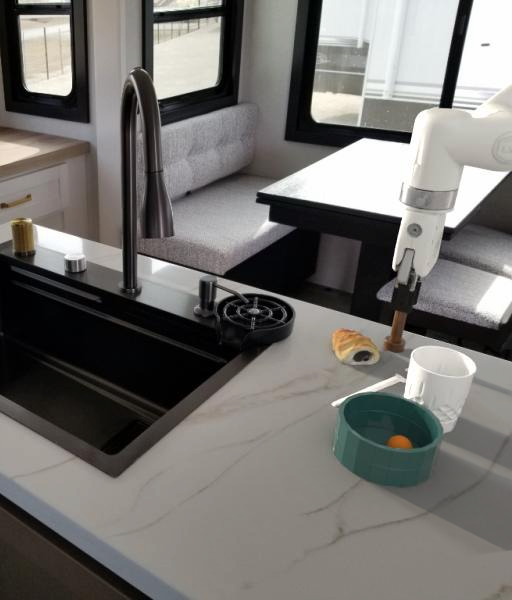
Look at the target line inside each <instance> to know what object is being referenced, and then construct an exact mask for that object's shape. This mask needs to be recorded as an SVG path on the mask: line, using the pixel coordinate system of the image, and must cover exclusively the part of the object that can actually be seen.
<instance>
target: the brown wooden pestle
mask: <svg viewBox="0 0 512 600" xmlns="http://www.w3.org/2000/svg"><path fill="white" fill-rule="evenodd" d="M409 278H411V281H412V278H413V276H409ZM407 317H408V314H407V313H403V312H400V311H396V310H394V316H393V321H392V325H391V329H390V334H389V335H386V336H385V337H384V340H383V345H382V351H383V352H390V353H395V354H396V353H397V354H398V353H399V354H400V353H403V352H405V348H406V343H407V342H406V339H404V338H403V335H404V330H405V326H406V321H407Z"/></svg>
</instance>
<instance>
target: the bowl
mask: <svg viewBox="0 0 512 600" xmlns="http://www.w3.org/2000/svg"><path fill="white" fill-rule="evenodd" d="M353 394H354V393H353ZM351 395H352V394H351ZM348 396H349V395H348ZM346 397H347V396H346ZM338 407H339V408H338V410H337V415H336V420H335V428H334V432H333V438H332V444H331V445H332V449H333V453H334V456H335V457H336V458H337V460H338V461H339V462H340V464H342V466H343V467H344V468H346V470H348V471H349V472H350V473H352V474H354V475H356V476H357V477H359V478H361V479H363V480H365V481H368V482H370V483H373V484H377V485H380V486H384V487H390V488H391V487H392V488H409V487H415V486H418V485H421V484H423V483H425V482H427V481H428V480H429V479H430V478H431V477H432V475H433V474H434V472H435V468H436V464H437V461H438V457H439V454H440V451H441V447H442V444H443V440H444V433H443V432H444V429H443V427H442V425H441V423H440V420H439V419H438V418H437V417H436V416H435V415H434V414H433V413H432V412H431V411H430V410H429V409H427V408H425V407H424V406H422V405H421V404H419V403H417V402H415V401H413V400H410V399H408V398H405V397H404V396H402V395H398V394H395V393H390V392H384V391H383V392H382V391H376V392H362V393H357V394H354V395H352V396H349V397H347V398H346V399H345V400H344V401H343V402H342V403H341V404H340V405H339V406H338ZM397 435H400V436H404V437H406V438H407V439H408V440H409V441H410V442H411V444H412V449H400V448H391V447H388V446H387V442H388V440H389V439H390V438H391V437H393V436H397Z"/></svg>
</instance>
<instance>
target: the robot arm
mask: <svg viewBox="0 0 512 600" xmlns="http://www.w3.org/2000/svg"><path fill="white" fill-rule="evenodd" d="M465 166H466V167H472V168H477V169H481V170H486V171H491V172H499V173H505V172H512V81H511V82H510V83H508V84H507V85H505V86H504V87H503V88H502V89H501V90H499V91H497V92H496V93H495V94H494V95H493V96H491V97H490V98H488V99H486V101H484V102H483V103H482V104H481V105H479V106H478V107H477V108H476V109H474V111H473V112H472V113H470V112H468V111H465V110H461V109H456V108H446V107H445V108H444V107H443V108H442V107H434V108H433V107H432V108H428V109H424V110H422V111H420V112H419V113H418V114H417V116H416V117H415V120H414V125H413V129H412V134H411V139H410V143H409V149H408V154H407V159H406V164H405V168H404V174H403V178H402V184H401V188H400V193H399V198H398V205H399V206H400V207H402V208H403V209H404V211H403V215H402V219H401V221H400V227H399V231H398V234H397V240H396V244H395V248H394V254H393V258H392V259H393V260H392V267H391V268H392V269H393V271H394V272H397V274H396V279H395V283H394V286H393V290H392V294H391V300H390V303H389V309H390V310H392V311H395V310H396V311H400V312H403V313H407V315H409V314H411V313H412V312H413V308H414V306H416V305H417V304H418V301H419V296H420V292H421V288H422V284H423V282H422V280H423V278H425V277H427V276H428V275H429V273H430V272H431V271H432V269H433V267H434V266H435V264H436V262H437V260H438V258H439V254H440V250H441V244H442V238H443V234H444V229H445V224H446V219H447V214H448V213H451V212H453V211H454V209H455V205H456V201H457V198H458V193H459V189H460V186H461V185H460V184H461V180H462V178H463V172H464V168H465ZM409 276H413V278H412V281H411V278H409Z"/></svg>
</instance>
